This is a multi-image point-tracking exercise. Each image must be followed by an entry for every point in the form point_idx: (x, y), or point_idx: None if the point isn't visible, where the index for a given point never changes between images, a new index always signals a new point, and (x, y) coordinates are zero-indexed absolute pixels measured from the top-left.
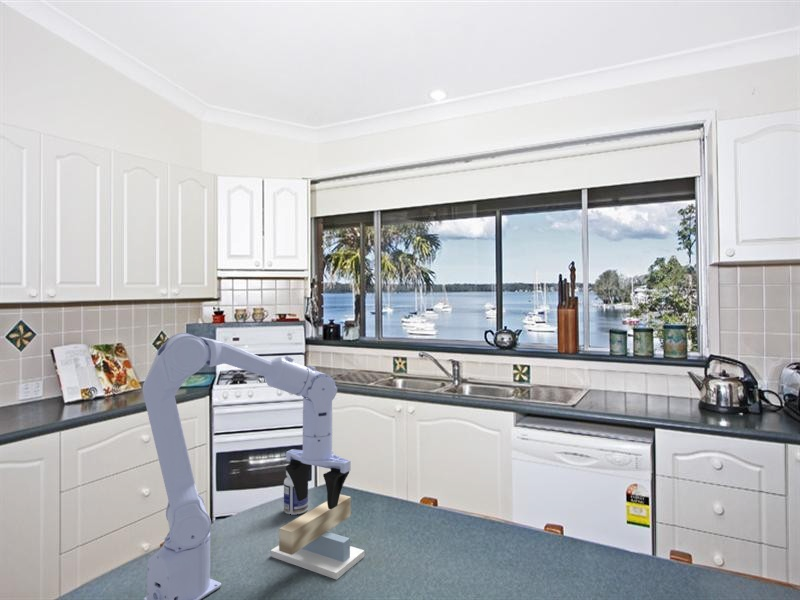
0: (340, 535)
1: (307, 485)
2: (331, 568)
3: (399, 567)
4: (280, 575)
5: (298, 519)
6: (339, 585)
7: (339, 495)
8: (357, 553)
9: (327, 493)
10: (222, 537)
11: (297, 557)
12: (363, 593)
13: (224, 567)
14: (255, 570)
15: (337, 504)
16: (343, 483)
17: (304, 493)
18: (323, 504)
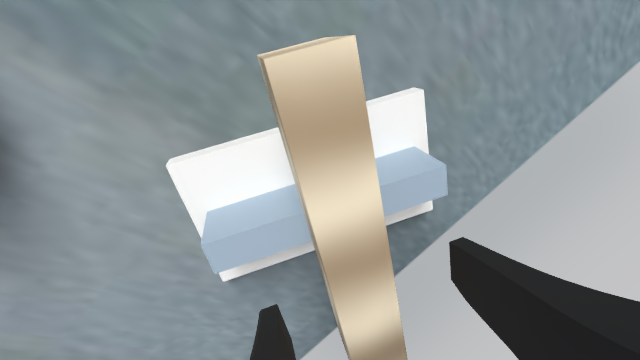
0: (411, 177)
1: (278, 355)
2: (411, 208)
3: (517, 56)
4: (317, 279)
5: (357, 338)
6: (441, 207)
7: (506, 258)
8: (418, 117)
9: (514, 352)
10: (4, 335)
11: (309, 246)
12: (495, 187)
13: (197, 354)
14: (259, 311)
15: (468, 240)
16: (596, 293)
17: (286, 341)
18: (319, 212)
